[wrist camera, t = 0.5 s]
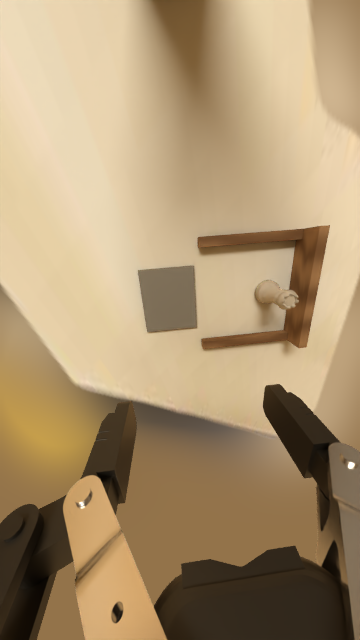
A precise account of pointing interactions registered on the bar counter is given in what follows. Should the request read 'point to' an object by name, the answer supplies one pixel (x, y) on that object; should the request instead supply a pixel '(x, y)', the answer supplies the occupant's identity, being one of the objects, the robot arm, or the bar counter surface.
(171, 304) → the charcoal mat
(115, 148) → the bar counter surface
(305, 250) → the walnut lane
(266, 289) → the rook chess piece
